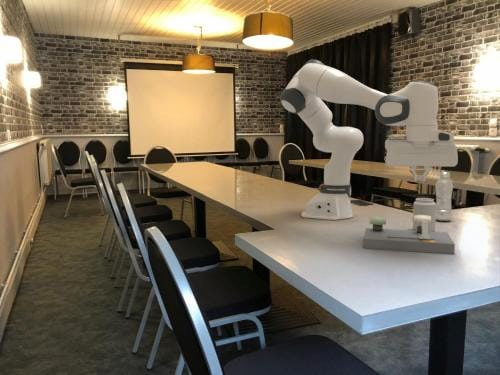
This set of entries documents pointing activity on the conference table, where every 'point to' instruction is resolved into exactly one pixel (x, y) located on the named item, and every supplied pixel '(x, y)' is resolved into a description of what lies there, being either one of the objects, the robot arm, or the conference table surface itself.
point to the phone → (360, 202)
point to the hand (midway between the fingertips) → (419, 181)
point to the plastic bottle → (443, 197)
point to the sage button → (377, 220)
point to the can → (425, 211)
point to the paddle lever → (424, 230)
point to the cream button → (422, 218)
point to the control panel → (407, 240)
